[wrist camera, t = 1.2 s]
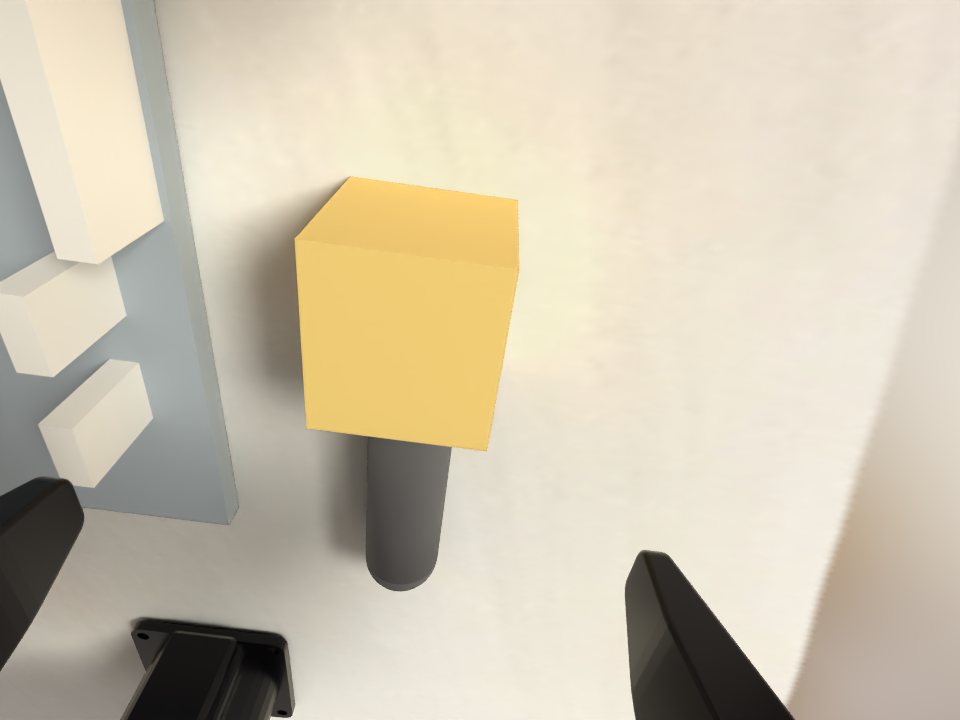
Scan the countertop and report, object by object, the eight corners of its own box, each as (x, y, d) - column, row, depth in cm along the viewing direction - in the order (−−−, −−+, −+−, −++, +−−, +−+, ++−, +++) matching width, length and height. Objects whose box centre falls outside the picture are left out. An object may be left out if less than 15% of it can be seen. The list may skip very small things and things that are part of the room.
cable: (459, 552, 21) (449, 661, 17) (351, 539, 20) (319, 646, 17) (517, 200, 13) (519, 270, 10) (350, 176, 13) (294, 239, 10)
